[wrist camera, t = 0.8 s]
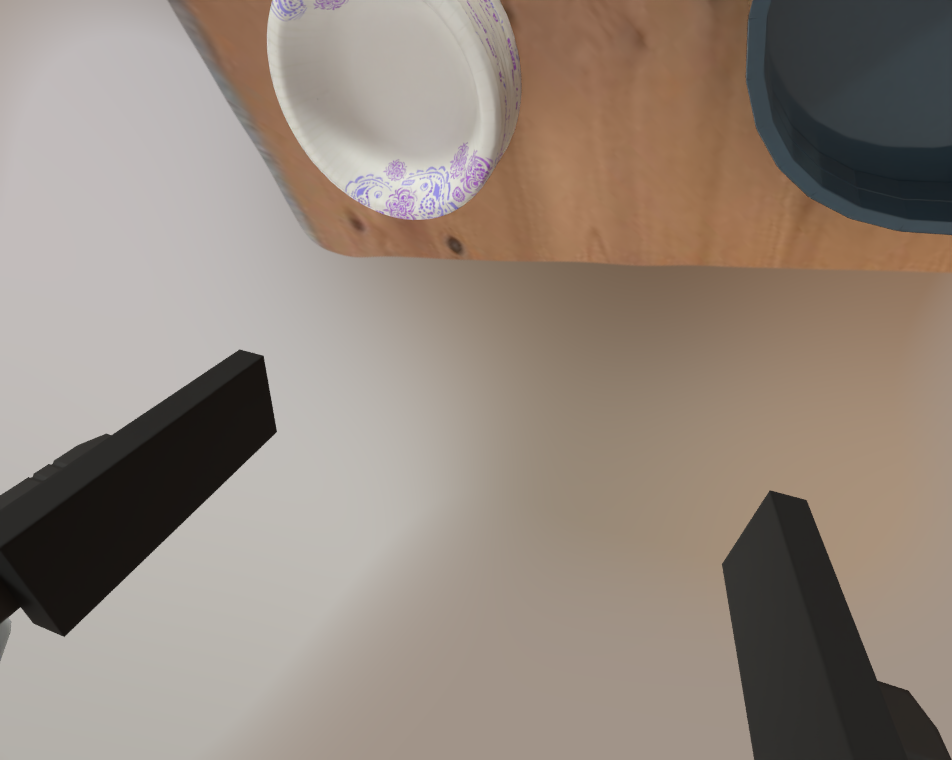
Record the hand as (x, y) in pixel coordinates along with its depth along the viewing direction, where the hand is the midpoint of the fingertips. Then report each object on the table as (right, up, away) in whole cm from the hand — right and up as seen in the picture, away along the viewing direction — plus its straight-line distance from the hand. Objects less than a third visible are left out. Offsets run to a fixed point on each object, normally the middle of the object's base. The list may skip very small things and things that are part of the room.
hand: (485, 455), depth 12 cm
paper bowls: (-3, +24, +21) cm, 32 cm away
